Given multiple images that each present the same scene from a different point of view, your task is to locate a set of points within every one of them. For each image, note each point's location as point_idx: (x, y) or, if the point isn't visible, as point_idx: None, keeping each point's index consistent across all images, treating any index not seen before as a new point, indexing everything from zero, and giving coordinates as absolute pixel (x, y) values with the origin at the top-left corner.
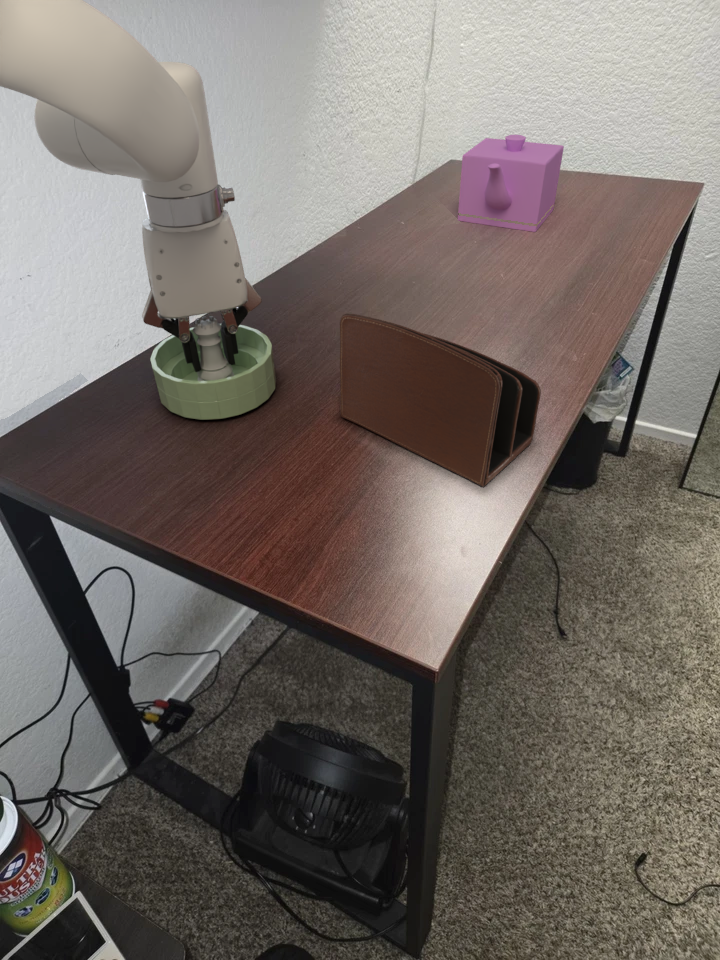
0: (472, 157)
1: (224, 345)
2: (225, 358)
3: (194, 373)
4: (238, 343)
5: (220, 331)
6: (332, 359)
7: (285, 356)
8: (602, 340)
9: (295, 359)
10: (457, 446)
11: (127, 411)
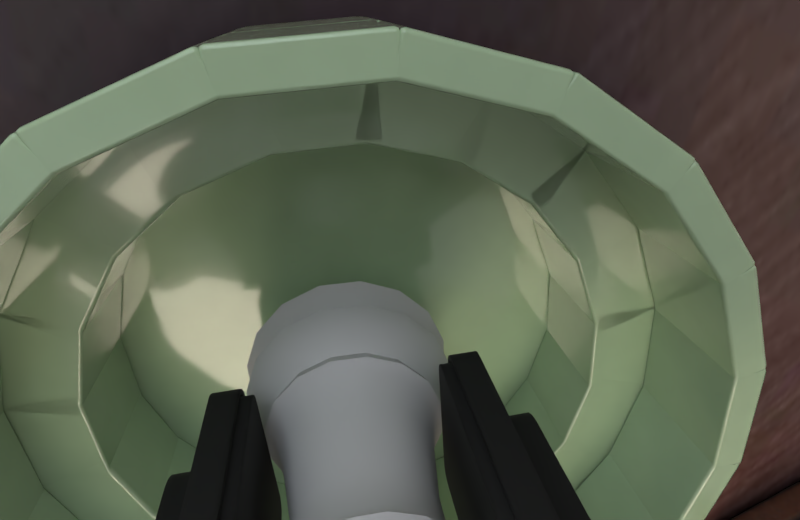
0: None
1: (467, 502)
2: (436, 412)
3: (219, 180)
4: (555, 133)
5: (488, 497)
6: None
7: (739, 78)
8: None
9: (766, 127)
10: None
11: None
